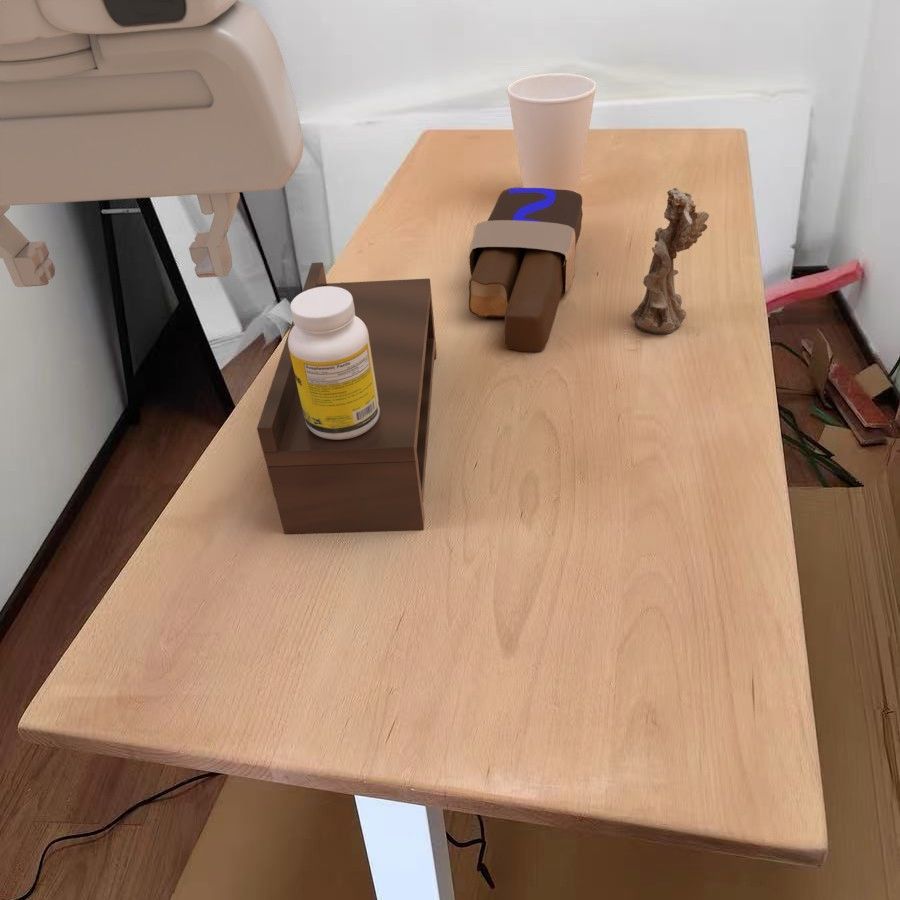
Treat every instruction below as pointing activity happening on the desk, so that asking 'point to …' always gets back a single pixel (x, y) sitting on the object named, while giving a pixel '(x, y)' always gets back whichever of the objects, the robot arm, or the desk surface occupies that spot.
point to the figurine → (668, 265)
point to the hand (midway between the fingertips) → (125, 276)
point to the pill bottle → (332, 364)
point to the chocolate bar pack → (525, 262)
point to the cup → (551, 127)
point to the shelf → (381, 447)
